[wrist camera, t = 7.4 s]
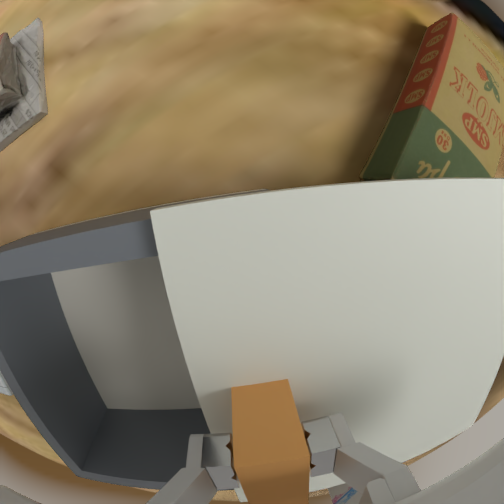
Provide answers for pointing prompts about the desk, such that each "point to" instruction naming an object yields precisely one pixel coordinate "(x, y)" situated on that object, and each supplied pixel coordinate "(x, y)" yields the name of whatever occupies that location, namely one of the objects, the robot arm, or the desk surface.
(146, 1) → the desk surface
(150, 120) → the desk surface
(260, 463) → the lid flap
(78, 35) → the desk surface
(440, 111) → the carton
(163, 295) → the charcoal box
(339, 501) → the ink box
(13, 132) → the packaged product
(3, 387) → the hard drive
